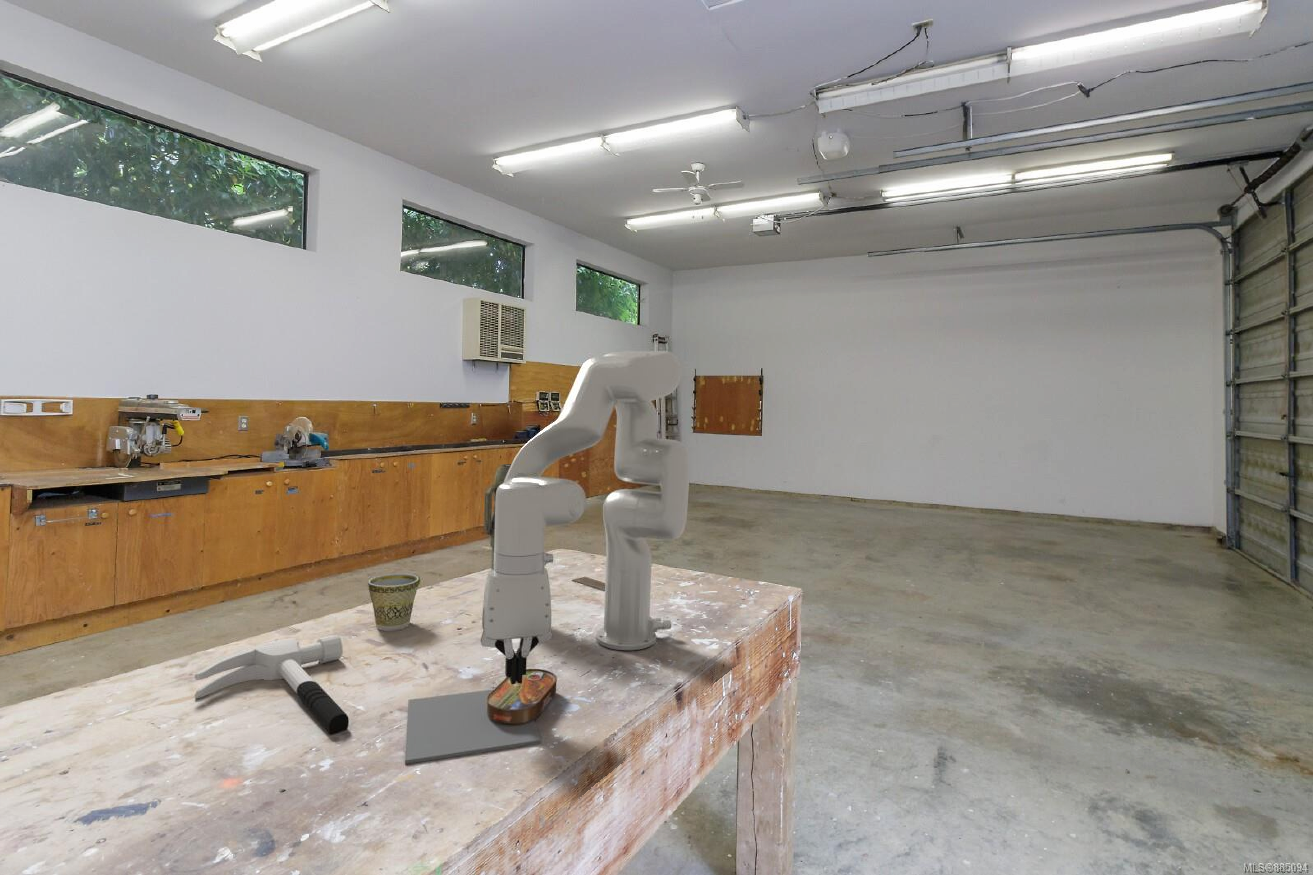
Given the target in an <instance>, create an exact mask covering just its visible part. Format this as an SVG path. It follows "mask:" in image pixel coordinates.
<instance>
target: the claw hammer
mask: <svg viewBox="0 0 1313 875" xmlns="http://www.w3.org/2000/svg"><path fill="white" fill-rule="evenodd" d="M343 652H344V650H343V644H342V639H341V637H340V635H339V634H335V635H330V636H325V637H321V638H318V639H317V641H316V642H315V643H311V644H305V645H301V646H300V643H299V641H298V639H297V638H294V637H287V638H281V639H277V640H273V641H269V642H268V641H267V642H264V643H259V644H256V645H254V646H252V647H248V648H245V649H241V650H238V651H236V652H233V653H230V654H228V655H226V656H224V657H221V658H220V659H218V660H215V661H212V662H211V663H210V664H208V665H207V666H204V668H202V669H201V670H199V671H198V672H196V673H195V675H194V679H195V680H196V681H200V680H204V679H208V678H211V677H212V676H214V675H217V674H219V673H222V672H226V673H223V674H221V675H219V676H218V677H215V678H214V679H212V680H210V681H209V682H207V683H205V684H204V685H203V686H201V687H200V688H199V689H197V690H196V692H195V693H194V699H200V698H203V697H206V696H207V695H209V694H212V693H214V692H216V691H218V690H221V689H223V688H226V687H229V686H233V685H235V684H238V682H239V683H241V682H245V681H250V680H252V681H253V680H260V679H264V680H265V681H274V680H275V681H277V680H281V679H284V680H285V681H286V682H287V683H288V685H289V686H290V687H291V688H292V689H293V690H294V692H295V693H296V695H297V697H298V699H300V701H301V702H302V703H303V704H304V705H305V707H306V708H308V710H309V711H310V713H311V714H312V715H313V717H315V718H316V720H317V721H318V722H319V723H320V724H321V726H322V727H323V728H324V729H325V730H326V732H328V734H329V735H330V736H333V735H335V734H338V733H342V732H344V731H347V730H348V728H349V722H350V721H349V719H350V718H349V716H348V714H347V713H346V712H345V711H344V709H342V708H341V707H340V705H338V703H336V702H335V700H334V699H333V698H332V697H331V696H330V695H329V694H328V693H327V692H326V691H325V689H324V688H322V686H320V685H319V683H318V682H317V681H314V679H313V678H312V677H311V676H310V675H309V674H308V673H307V672H306V670H304V669H303V667H301V666H302V665H307V664H311V663H313V662H318V663H319V664H325V663H329V662H333V661H337V660H340V659H341V658H342V657H343ZM232 669H233V670H232ZM227 671H228V672H227ZM264 680H263V681H264ZM234 683H235V684H234Z"/></svg>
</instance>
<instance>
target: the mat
mask: <svg viewBox="0 0 1313 875" xmlns="http://www.w3.org/2000/svg"><path fill="white" fill-rule="evenodd" d="M493 690H494V689H486V690H479V691H471V692H463V693H453V694H446V695H437V696H436V695H435V696H429V697H428V696H427V697H420V698H419V697H418V698H411V699H408V704H407V705H408V706H407V717H406V718H407V720H406V722H407V723H406V739H405V756H404V758H405V759H404V764H405V765H407V764H415V763H422V762H428V761H433V760H434V761H435V760H440V759H441V760H442V759H446V758H447V759H448V758H454V757H460V756H466V755H468V756H469V755H473V754H480V753H485V752H487V753H488V752H493V751H499V750H500V751H501V750H505V749H512V748H520V747H527V746H531V745H532V746H533V745H538V744H542V738H541V737H540V733H539V730H538V727H537V725H536V722H535V719H534V720H532V721H529V722H527V723H523V724H507V723H500V722H494V721H492V720H491V719H490V718H489V717H488V714H487V697H488V695H489V694H490V693H491V692H492V691H493Z"/></svg>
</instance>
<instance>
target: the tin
mask: <svg viewBox="0 0 1313 875" xmlns="http://www.w3.org/2000/svg"><path fill="white" fill-rule="evenodd" d="M557 682H558V677H557V675H556V674H555V673H553V672H552V671H549V670H546V669H541V668H526V675H522V683H520V684H518V683H517V681H516V683H515V684H512V685H511V682H510V678H509V677H506V676H505V678H504V679H503V680H502V681H501V682H500V683H499V684H498V685H497V686H496V687H495V688H494V689H492V690H493V691H492V692H491V693H490V694H489V695H488V697H487V714H488V717H489V718H490V719H491V720H492V721H494V722H500V723H507V724H523V723H527V722H529V721H532V720H534V721H535V720H536V718H537V717H538V716H539V715H540V714H541V713H542V712H543V710H545V708H546V707H547V706H548V704H549V703H550V702H551V701H552V699H553V698H554V697H555V695H556V692H557Z"/></svg>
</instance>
